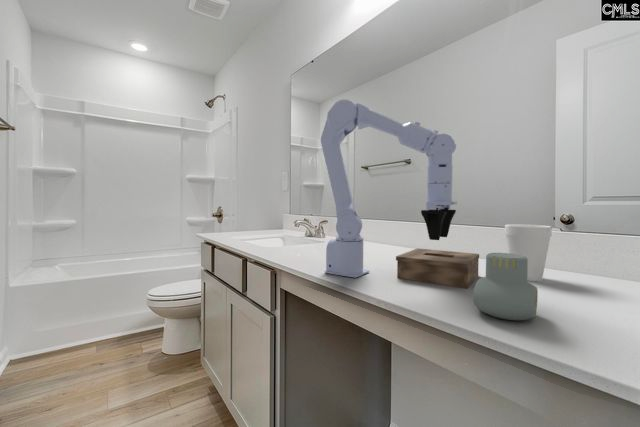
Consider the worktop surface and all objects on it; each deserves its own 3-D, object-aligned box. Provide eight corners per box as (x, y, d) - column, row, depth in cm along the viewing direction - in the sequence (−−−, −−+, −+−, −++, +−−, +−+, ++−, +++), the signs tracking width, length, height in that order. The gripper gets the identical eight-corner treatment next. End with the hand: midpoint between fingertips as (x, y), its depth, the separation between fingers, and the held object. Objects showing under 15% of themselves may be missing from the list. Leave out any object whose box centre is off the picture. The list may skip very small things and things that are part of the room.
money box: (395, 278, 74) (395, 256, 74) (417, 267, 87) (417, 248, 87) (466, 289, 65) (467, 264, 65) (478, 275, 78) (479, 253, 77)
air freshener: (484, 301, 57) (485, 249, 57) (537, 311, 52) (539, 253, 52) (470, 318, 49) (471, 257, 48) (532, 332, 44) (534, 263, 43)
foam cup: (535, 273, 79) (536, 224, 79) (559, 283, 70) (561, 227, 69) (497, 273, 80) (498, 224, 80) (516, 282, 71) (517, 227, 70)
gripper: (449, 181, 67) (448, 242, 67) (462, 184, 79) (461, 236, 79) (417, 182, 71) (417, 240, 72) (435, 185, 83) (434, 235, 83)
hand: (438, 238), depth 76 cm, fingers open, 7 cm apart
